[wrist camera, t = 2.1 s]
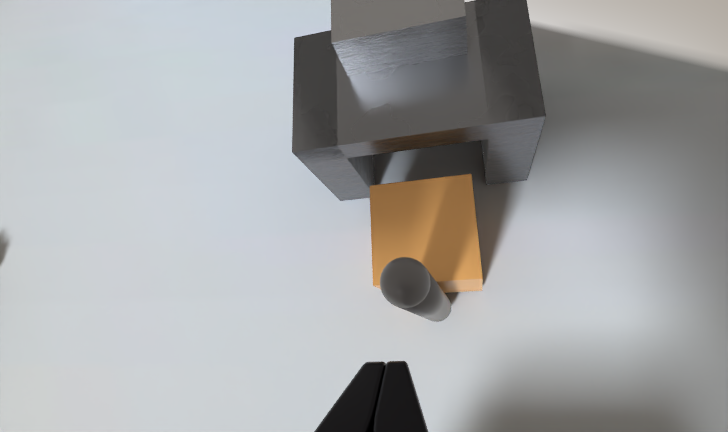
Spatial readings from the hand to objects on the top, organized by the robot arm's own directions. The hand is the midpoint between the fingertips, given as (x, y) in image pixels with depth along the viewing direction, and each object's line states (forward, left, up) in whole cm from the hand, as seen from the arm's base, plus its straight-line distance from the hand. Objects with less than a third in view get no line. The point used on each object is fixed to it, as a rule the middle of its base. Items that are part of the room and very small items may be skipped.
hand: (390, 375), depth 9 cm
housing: (+9, -7, -13) cm, 17 cm away
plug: (+4, -3, -13) cm, 14 cm away
